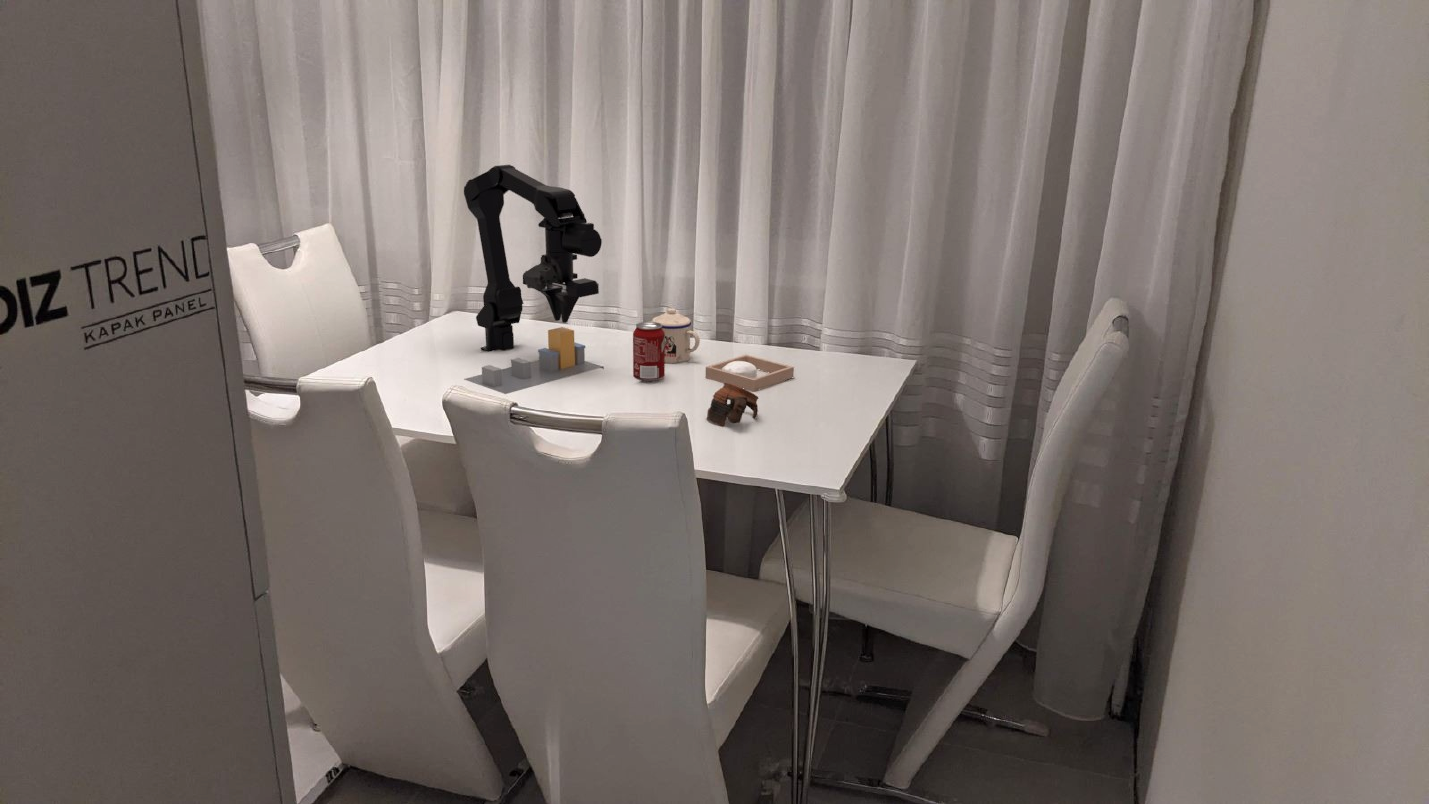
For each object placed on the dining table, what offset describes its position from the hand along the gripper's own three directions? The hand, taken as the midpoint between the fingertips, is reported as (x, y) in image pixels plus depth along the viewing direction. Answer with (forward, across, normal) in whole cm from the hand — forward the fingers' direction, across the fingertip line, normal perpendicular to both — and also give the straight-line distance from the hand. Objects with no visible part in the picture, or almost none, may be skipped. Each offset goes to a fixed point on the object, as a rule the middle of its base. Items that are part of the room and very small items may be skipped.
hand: (561, 321), depth 232 cm
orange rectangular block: (+10, 0, 0) cm, 10 cm away
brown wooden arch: (+11, +48, +1) cm, 50 cm away
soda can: (+11, +18, +9) cm, 23 cm away
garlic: (+12, +31, +23) cm, 40 cm away
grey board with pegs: (+11, 0, -8) cm, 13 cm away
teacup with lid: (+11, +12, +24) cm, 29 cm away
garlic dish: (+11, +33, +25) cm, 43 cm away
